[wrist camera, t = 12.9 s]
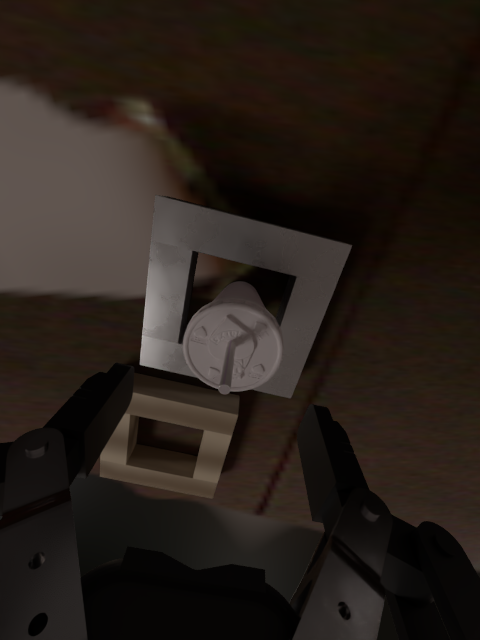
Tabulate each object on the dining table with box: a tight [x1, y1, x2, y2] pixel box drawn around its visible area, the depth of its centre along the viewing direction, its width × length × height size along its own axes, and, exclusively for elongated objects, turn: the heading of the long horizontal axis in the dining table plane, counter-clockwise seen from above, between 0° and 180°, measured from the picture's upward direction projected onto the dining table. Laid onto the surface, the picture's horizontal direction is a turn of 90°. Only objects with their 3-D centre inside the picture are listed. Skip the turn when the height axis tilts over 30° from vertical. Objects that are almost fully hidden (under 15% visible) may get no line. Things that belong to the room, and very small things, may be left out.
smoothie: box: [183, 281, 284, 394], centre depth 18 cm, size 6×6×14 cm
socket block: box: [100, 373, 240, 499], centre depth 30 cm, size 14×14×3 cm
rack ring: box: [140, 195, 352, 398], centre depth 24 cm, size 15×15×3 cm
